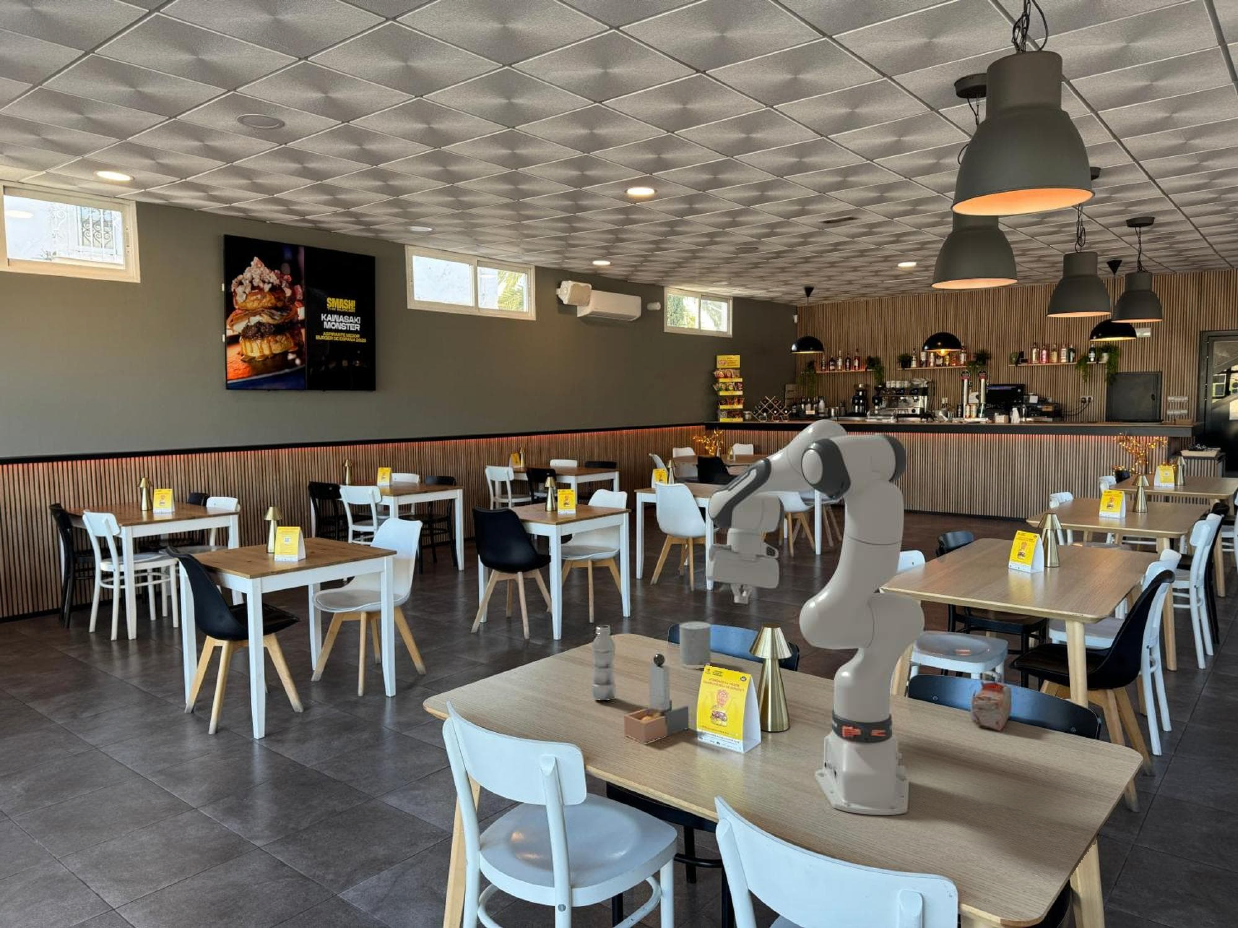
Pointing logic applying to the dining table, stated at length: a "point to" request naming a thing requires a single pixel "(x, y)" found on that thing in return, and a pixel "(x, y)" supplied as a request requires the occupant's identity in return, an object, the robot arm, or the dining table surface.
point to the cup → (644, 727)
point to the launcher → (676, 719)
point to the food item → (991, 705)
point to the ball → (647, 719)
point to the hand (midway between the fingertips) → (740, 602)
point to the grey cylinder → (695, 643)
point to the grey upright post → (658, 687)
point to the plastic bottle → (603, 664)
